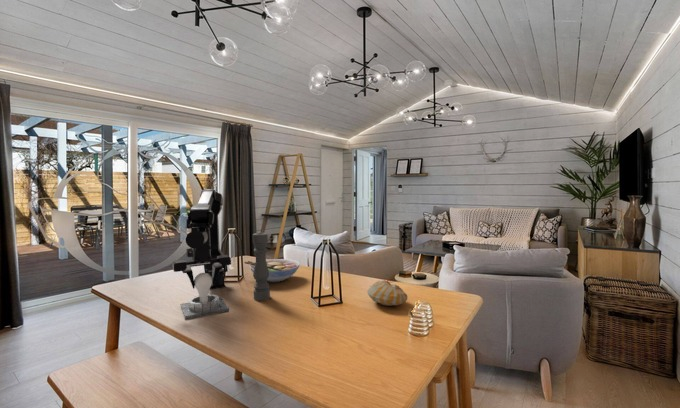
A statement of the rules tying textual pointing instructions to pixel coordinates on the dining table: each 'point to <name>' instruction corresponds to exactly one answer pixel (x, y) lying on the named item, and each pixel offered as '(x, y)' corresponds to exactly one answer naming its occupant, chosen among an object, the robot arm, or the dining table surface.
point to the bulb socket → (203, 307)
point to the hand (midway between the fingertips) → (203, 286)
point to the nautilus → (387, 293)
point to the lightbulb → (203, 285)
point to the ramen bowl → (278, 269)
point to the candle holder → (261, 267)
